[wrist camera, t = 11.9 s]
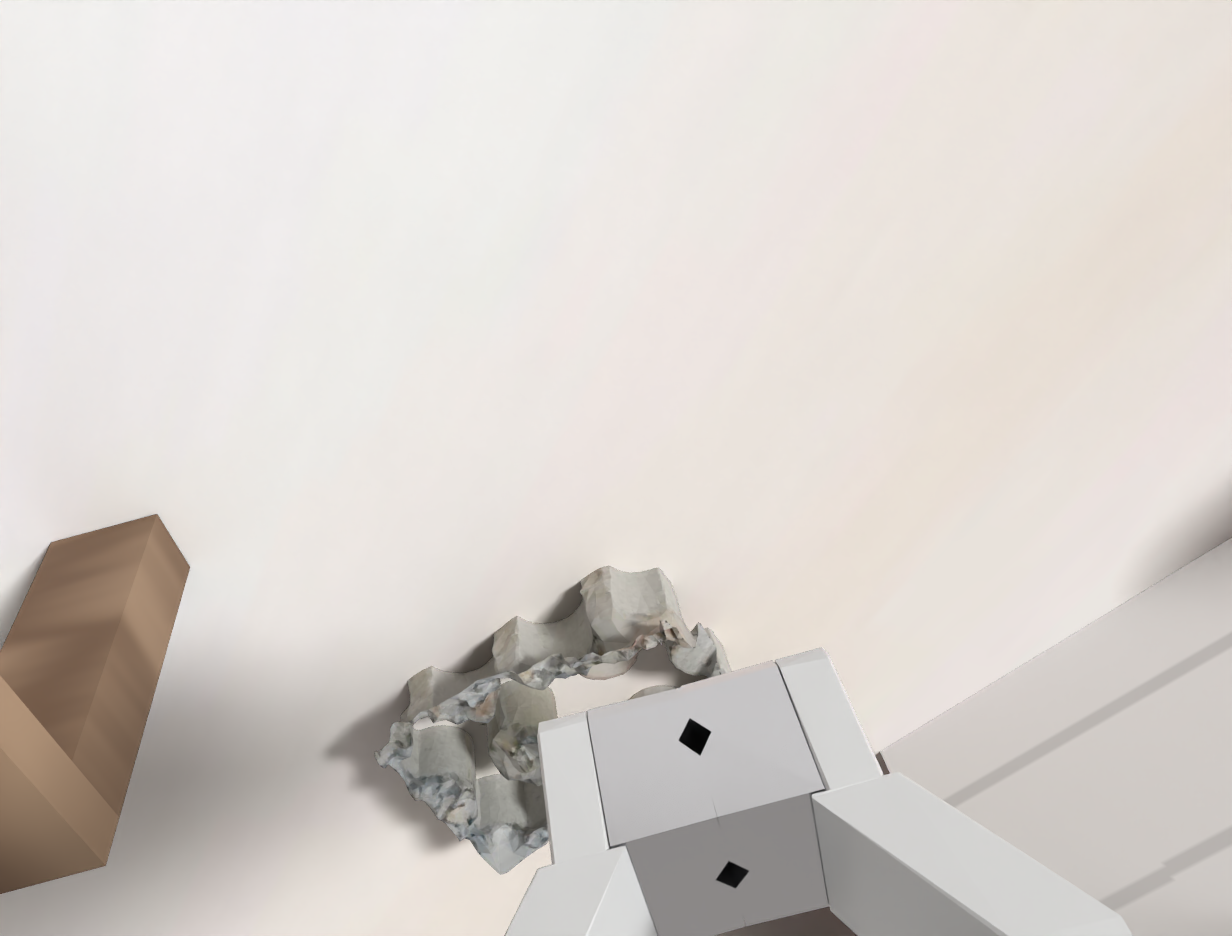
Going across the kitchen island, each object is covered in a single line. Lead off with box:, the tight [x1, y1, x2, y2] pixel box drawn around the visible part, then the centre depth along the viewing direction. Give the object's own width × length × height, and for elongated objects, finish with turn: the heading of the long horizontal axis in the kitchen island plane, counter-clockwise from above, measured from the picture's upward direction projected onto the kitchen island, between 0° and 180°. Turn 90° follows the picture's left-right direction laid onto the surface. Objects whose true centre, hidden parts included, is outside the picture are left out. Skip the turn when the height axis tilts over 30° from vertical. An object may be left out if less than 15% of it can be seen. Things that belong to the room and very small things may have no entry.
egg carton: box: [374, 566, 732, 875], centre depth 33 cm, size 11×8×4 cm
